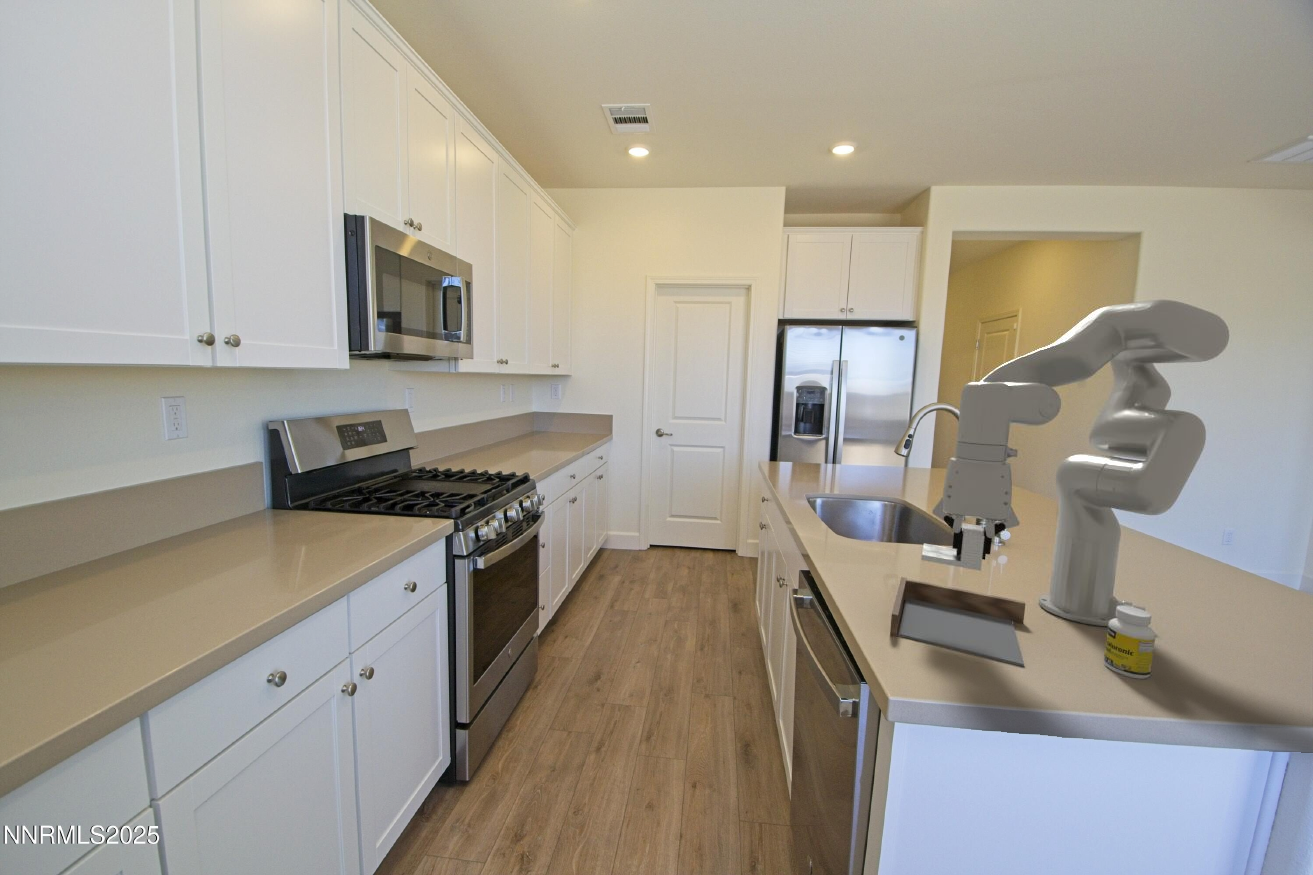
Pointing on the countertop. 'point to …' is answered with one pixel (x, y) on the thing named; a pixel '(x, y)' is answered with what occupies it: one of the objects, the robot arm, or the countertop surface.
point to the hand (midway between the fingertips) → (970, 554)
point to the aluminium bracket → (969, 550)
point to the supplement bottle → (1130, 643)
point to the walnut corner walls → (955, 601)
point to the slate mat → (961, 631)
